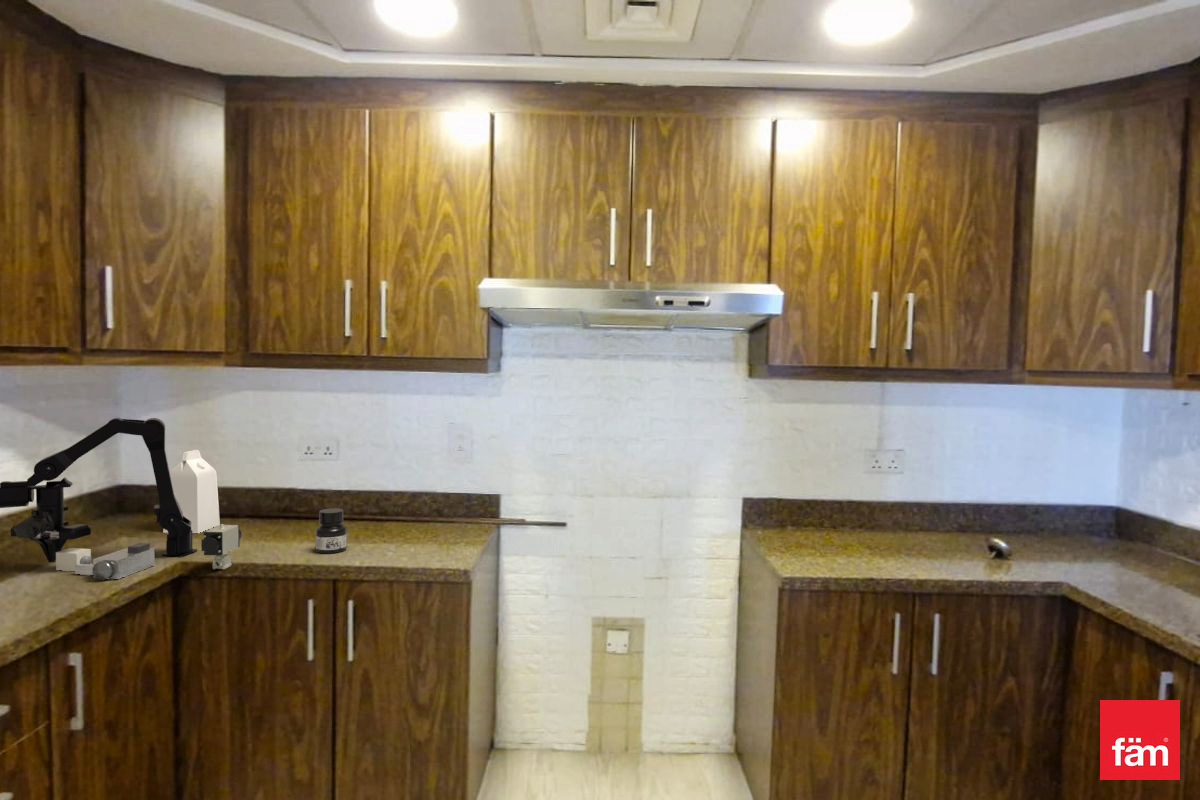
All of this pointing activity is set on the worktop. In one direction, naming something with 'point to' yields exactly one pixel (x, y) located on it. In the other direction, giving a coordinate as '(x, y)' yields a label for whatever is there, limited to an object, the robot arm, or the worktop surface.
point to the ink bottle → (331, 532)
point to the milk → (196, 491)
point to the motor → (119, 562)
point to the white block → (72, 558)
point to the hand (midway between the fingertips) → (51, 562)
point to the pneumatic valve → (221, 544)
